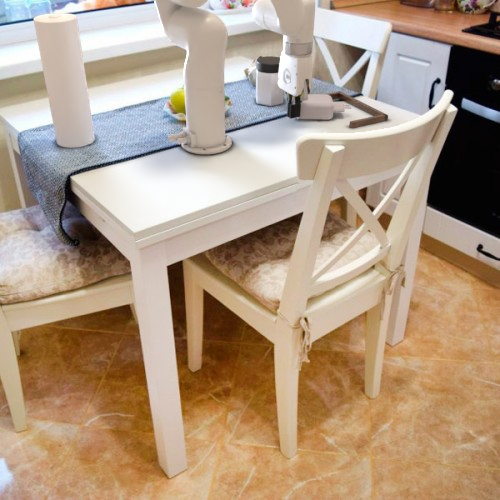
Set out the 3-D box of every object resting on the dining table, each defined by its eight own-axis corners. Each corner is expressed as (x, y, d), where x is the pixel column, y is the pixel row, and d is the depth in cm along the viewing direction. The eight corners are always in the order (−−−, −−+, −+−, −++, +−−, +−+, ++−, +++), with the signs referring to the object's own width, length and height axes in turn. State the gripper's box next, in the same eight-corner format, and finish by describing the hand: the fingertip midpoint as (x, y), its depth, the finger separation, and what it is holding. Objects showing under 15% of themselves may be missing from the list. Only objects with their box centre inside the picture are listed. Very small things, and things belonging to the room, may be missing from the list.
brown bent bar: (351, 128, 157) (352, 122, 156) (305, 102, 173) (305, 97, 173) (387, 120, 162) (388, 115, 161) (339, 95, 178) (339, 91, 178)
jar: (264, 108, 169) (265, 66, 162) (249, 99, 175) (249, 59, 168) (289, 102, 173) (291, 61, 166) (273, 94, 179) (275, 54, 172)
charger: (352, 121, 161) (297, 120, 161) (347, 109, 169) (295, 108, 169) (354, 104, 159) (298, 104, 159) (349, 93, 166) (296, 92, 166)
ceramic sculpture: (242, 60, 177) (244, 50, 190) (242, 89, 182) (244, 77, 194) (278, 61, 177) (277, 51, 190) (277, 90, 181) (276, 78, 194)
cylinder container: (61, 150, 144) (37, 21, 127) (53, 136, 151) (29, 13, 134) (99, 143, 147) (81, 17, 131) (89, 130, 154) (70, 9, 138)
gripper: (269, 42, 154) (267, 110, 164) (301, 56, 143) (296, 128, 153) (294, 39, 157) (290, 106, 167) (326, 53, 146) (320, 123, 156)
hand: (293, 116), depth 160 cm, fingers closed
